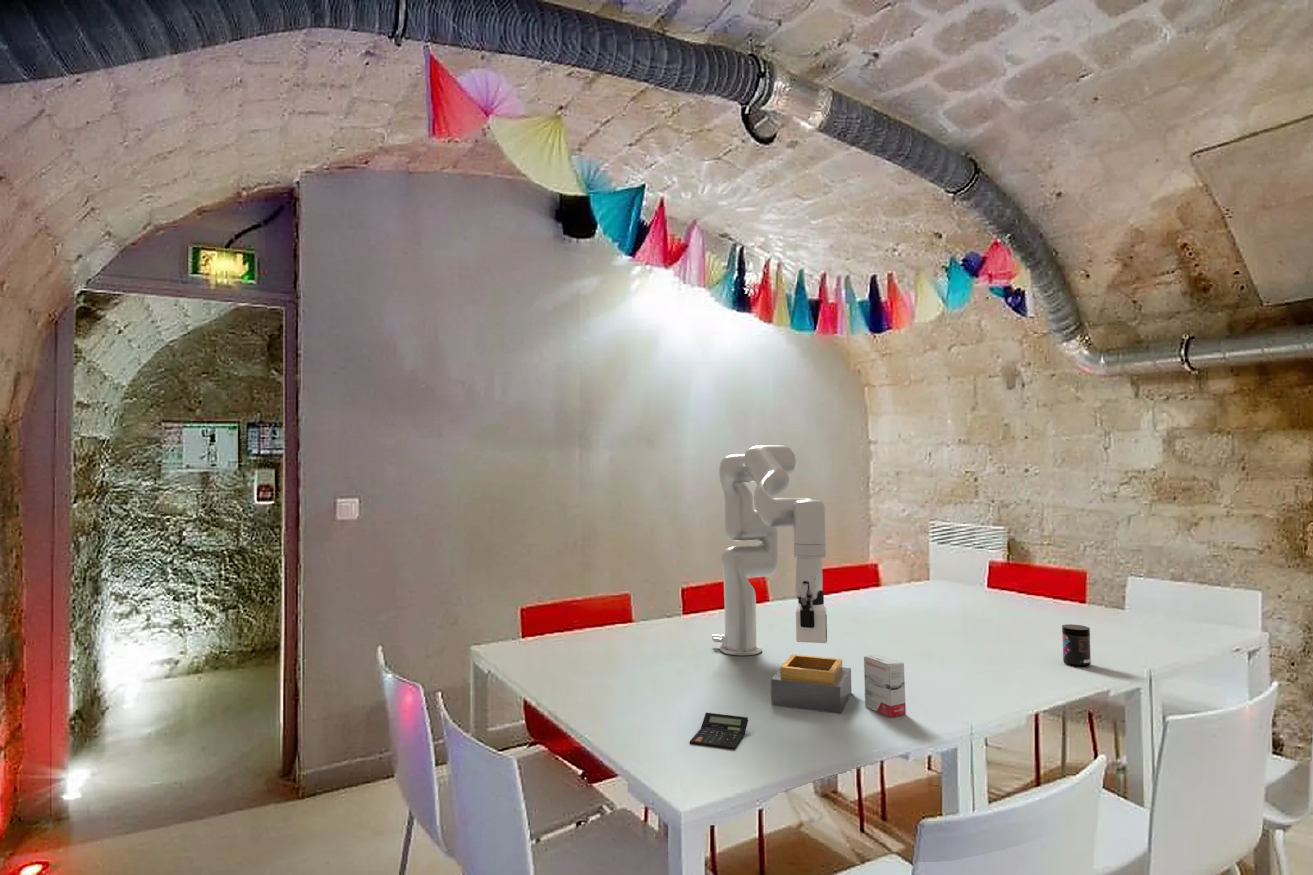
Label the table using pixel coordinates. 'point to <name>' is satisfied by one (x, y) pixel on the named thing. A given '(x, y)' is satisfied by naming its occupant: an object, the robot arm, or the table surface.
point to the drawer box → (812, 684)
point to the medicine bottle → (820, 622)
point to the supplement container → (1076, 645)
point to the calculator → (721, 731)
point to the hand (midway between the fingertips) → (811, 623)
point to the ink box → (884, 685)
